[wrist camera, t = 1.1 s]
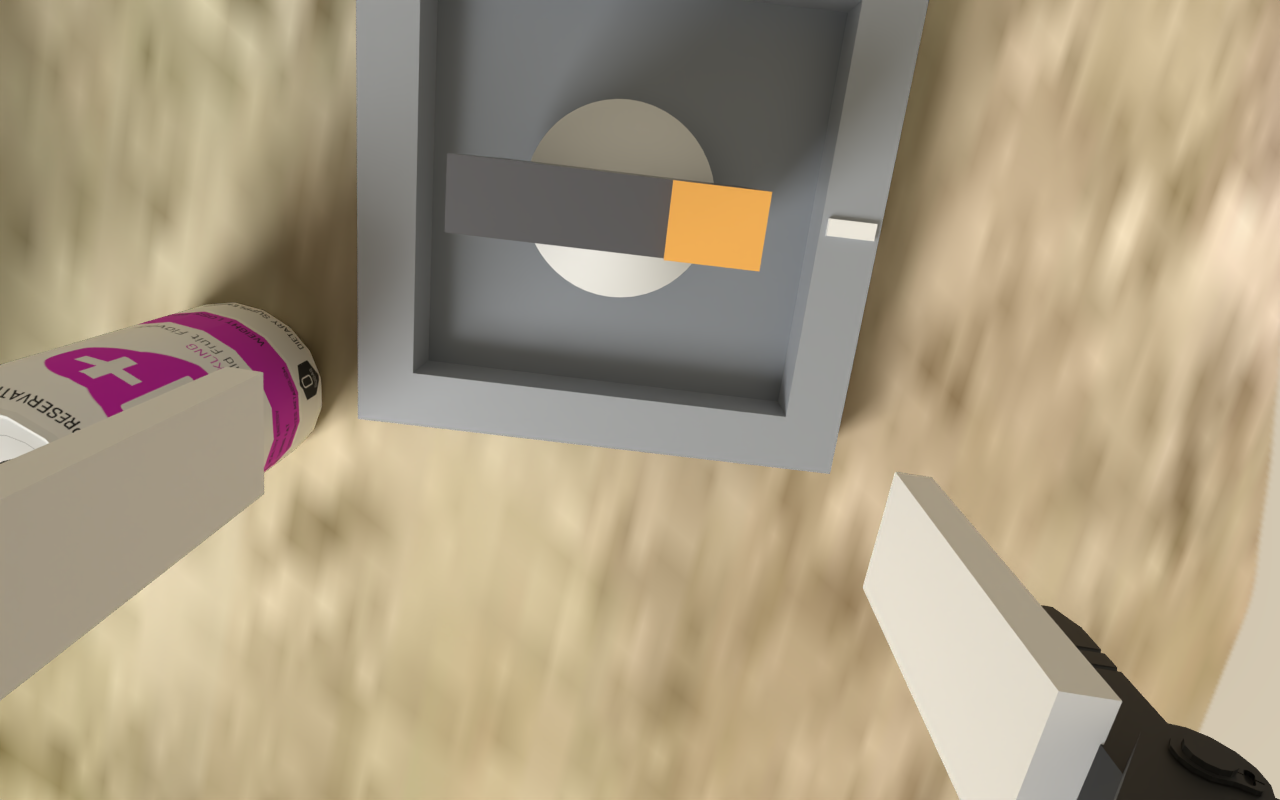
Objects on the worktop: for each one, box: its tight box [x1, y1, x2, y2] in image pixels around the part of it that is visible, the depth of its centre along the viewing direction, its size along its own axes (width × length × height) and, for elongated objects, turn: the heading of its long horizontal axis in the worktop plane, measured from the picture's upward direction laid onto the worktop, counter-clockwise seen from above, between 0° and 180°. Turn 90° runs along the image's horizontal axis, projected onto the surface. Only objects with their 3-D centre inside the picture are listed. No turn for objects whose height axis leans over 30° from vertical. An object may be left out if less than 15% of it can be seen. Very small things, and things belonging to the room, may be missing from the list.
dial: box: [445, 99, 772, 297], centre depth 27 cm, size 10×8×10 cm
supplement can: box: [0, 302, 322, 473], centre depth 30 cm, size 8×8×15 cm
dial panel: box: [356, 0, 929, 474], centre depth 32 cm, size 22×22×4 cm
